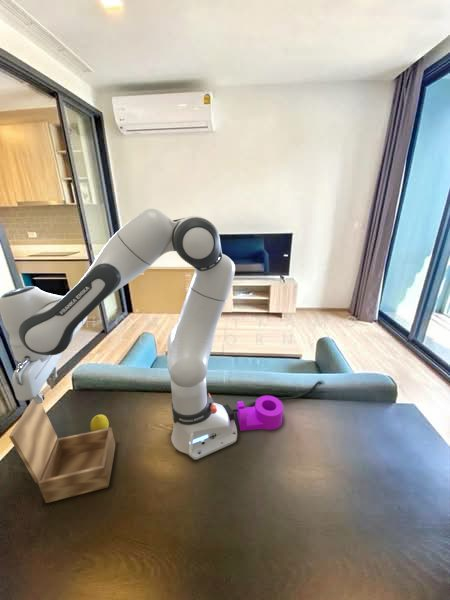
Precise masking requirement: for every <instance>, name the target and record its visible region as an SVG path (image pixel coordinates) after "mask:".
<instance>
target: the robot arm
mask: <svg viewBox="0 0 450 600" xmlns="http://www.w3.org/2000/svg"><path fill="white" fill-rule="evenodd" d="M170 252H176V253H177V255H178V256H179V257H180V258H181V259H182V260H183V261H184V262H185V263H187V264H189V265H190V266H191V267H193V268H194V271H193V275H192V279H191V281H190V284H189V286H188V289H187V291H186V295H185V298H184V301H183V302H182V306H181V309H180V313H179V318H178V322H177V323H175V325H173V326H172V328H171V330H170V331H169V334H168V337H167V350H166V351H167V356H166V357H167V358H166V365H167V366H166V367H167V370H168V373H169V377H170V390H171V398H172V402H171V416H172V421H173V428H172V431H171V437H170V438H171V443H172V446H173V447H174V448H175V449H176V450H177V451H178V452H180V453H183V454H186V455H188V456H189V457H190V458H191V459H192V460H197V461H198V460H199V459H202V458H203V457H207V456H208V455H211V454H212V453H215V452H218V451H220V450H221V449H224V448H226V447H228V446H230V445H232V444H235V443H236V442H237V440H238V429H237V425H236V422H235V413H237V412H238V410H237V408H235V409H232V408H231V406H230V405H229V404H228V403H226V404H223V405H222V404H220V403H217V402H214V399H213V398H212V396H211V393H209V392H208V389H207V373H208V367H209V366H208V365H209V359H210V356H211V352H212V348H213V345H214V341H215V335H216V330H217V327H218V323H219V320H220V318H221V316H222V313H223V310H224V309H225V306H226V303H227V301H228V298H229V295H230V293H231V290H232V286H233V282H234V278H235V273H236V265H235V263H234V261H233V260H232V259H231V258H230V256H228V255H226V254H224V253H223V251H222V244H221V237H220V234H219V231H218V229H217V228H216V226H215V224H213V223H212V222H211V221H209V220H208V219H207V218H205V217H202V216H199V215H189V216H187V217H182V218H178V219H173V220H172V219H171V218H170V217H169V216H167V215H166V214H165V213H164V212H163V211H160V210H159V209H156V208H146V209H145V210H143V211H142V212H140V213H138V214H137V215H136V216H134V217H133V218H131V219H130V220H129V221H128V222H126V223H125V224H124V225H122V227H120V228H119V229H118V230H117V231H116V232H115V233H114V234H113V235H112V236H111V238H110V239H109V240H107V242H106V243H105V245H104V246H103V248H102V249H101V251H100V252H99V254H98V255H97V257H96V258H95V259H94V261H93V263H92V264H91V266H90V267H89V268H88V270H87V271H86V273H84V275H83V277H82V278H80V280H79V282H77V283H76V284H75V285H74V286H73V287H72V288H71V289H70V290H69V291H68V292H67V293H66V294H65V295H58V294H55V293H54V294H53V293H50V292H46V291H44V290H41V289H40V288H39V287H37V286H34V285H32V286H31V285H29V286H28V285H27V286H21V287H18V288H15V289H11V290H9V291H7V292H5V293H4V294H3V295H1V296H0V318H1V320H2V324H3V327H4V329H5V330H6V332H7V333H8V336H9V346H10V348H11V351H12V355H13V358H14V360H15V361H16V362H18V364H17V365H16V367H15V370H14V371H13V373H12V377H11V380H12V381H11V382H12V387H13V391H14V396H15V399H16V400H17V401H22V402H23V401H29V400H32V399H34V402H35V404H39V403H41V404H43V402H44V401H45V394H44V393H41V389H42V388H43V387H44V385H45V384H46V382H47V380H48V381H49V382H52V381H56V380H57V378H58V374H57V372H58V363H59V361H60V360H61V359H62V357H63V355H62V354H63V352H65V350H67V348H68V347H69V346H70V344H71V342H72V340H73V339H74V338H75V337H76V335H77V334H78V333H79V331H80V330H81V329H82V328H83V326H84V325H85V323H86V322H87V320H88V318H89V315H90V314H91V313H92V312H93V311H94V310H95V309H96V308H98V306H99V305H100V304H102V302H103V301H104V300H106V299H107V298H108V297H110V296H111V295H112V294H114V293H115V292H117V291H118V290H120V289H121V288H123V287H124V286H126V285H127V284H129V283H131V282H132V281H133V280H135V279H136V278H138V277H139V276H141V275H142V274H143V273H145V272H146V271H147V270H149V268H150V267H151V266H152V265H153V264H154V263H155V262H156V261H157V260H158V259H159V258H160V257H162V256H163V255H165V254H167V253H170ZM19 362H20V363H19ZM319 384H322V381H317V382H316V383H315V384H314V385H313V386H312V387H311V388H310V389H308V390H307V391H305V392H303V393H300V394H298V395H295V396H288V397H287V396H285V397H276V398H277V399H279V400H280V401H283V400H284V401H285V400H295V399H298V398H301V397H303V396H306V395H307V394H309V393H311V392H312V391H313V390H314V389H315V388H316V387H317V386H318V385H319ZM255 403H256V400H255V401H254V402H252V403H251V404H250V405H249V406H248V407H254V406H255Z"/></svg>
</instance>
